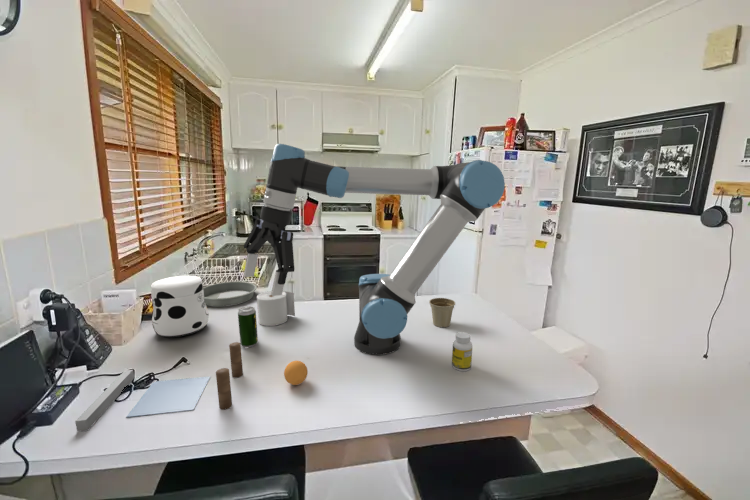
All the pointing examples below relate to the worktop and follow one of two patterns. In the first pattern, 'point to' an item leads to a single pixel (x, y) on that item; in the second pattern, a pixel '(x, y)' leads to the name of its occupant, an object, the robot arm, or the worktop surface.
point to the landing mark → (170, 396)
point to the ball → (295, 372)
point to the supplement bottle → (462, 352)
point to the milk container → (178, 306)
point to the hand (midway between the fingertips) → (261, 285)
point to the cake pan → (216, 289)
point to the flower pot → (442, 311)
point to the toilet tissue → (275, 308)
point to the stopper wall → (104, 401)
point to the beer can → (247, 326)
